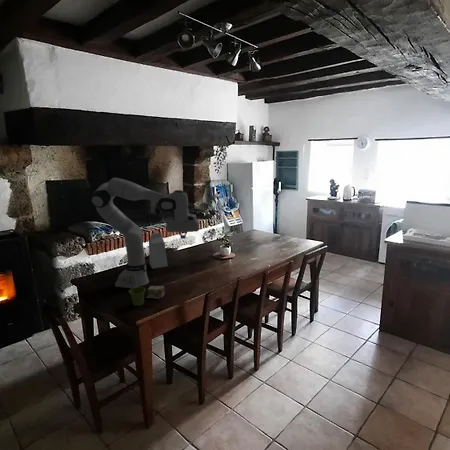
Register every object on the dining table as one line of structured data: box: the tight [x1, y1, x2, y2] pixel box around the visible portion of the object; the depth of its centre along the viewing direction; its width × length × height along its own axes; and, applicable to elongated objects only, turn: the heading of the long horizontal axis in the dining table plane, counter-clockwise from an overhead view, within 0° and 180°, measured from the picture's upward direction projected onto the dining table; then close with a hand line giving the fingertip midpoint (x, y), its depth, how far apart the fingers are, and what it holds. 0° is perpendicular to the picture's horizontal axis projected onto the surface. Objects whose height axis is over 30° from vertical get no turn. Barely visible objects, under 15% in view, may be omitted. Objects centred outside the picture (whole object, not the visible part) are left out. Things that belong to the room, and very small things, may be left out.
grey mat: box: [145, 295, 162, 300], centre depth 203 cm, size 9×8×1 cm
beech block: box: [147, 285, 166, 298], centre depth 203 cm, size 5×5×9 cm
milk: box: [148, 232, 169, 270], centre depth 254 cm, size 12×12×26 cm
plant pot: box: [128, 286, 146, 307], centre depth 193 cm, size 9×9×9 cm
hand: (183, 238), depth 204 cm, fingers closed
